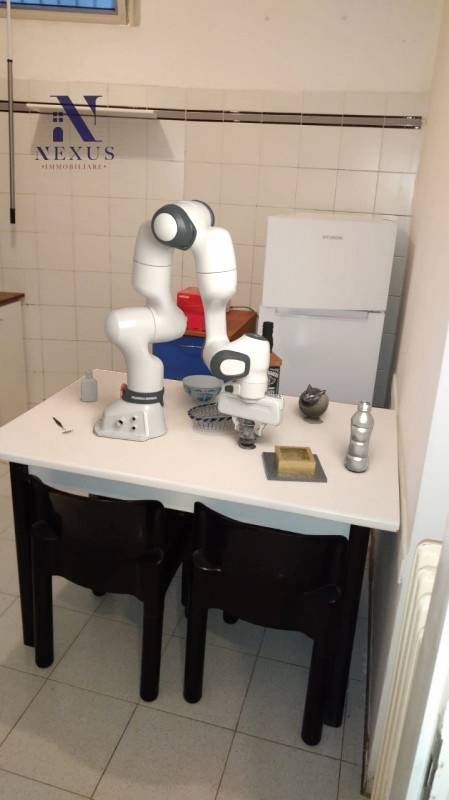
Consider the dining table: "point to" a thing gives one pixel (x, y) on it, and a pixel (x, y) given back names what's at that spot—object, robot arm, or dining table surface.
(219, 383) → the chinaware
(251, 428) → the salt shaker
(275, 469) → the collar plate
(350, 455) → the plastic bottle
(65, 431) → the razor
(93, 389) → the eye dropper bottle
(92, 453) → the dining table surface
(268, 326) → the whiskey bottle
